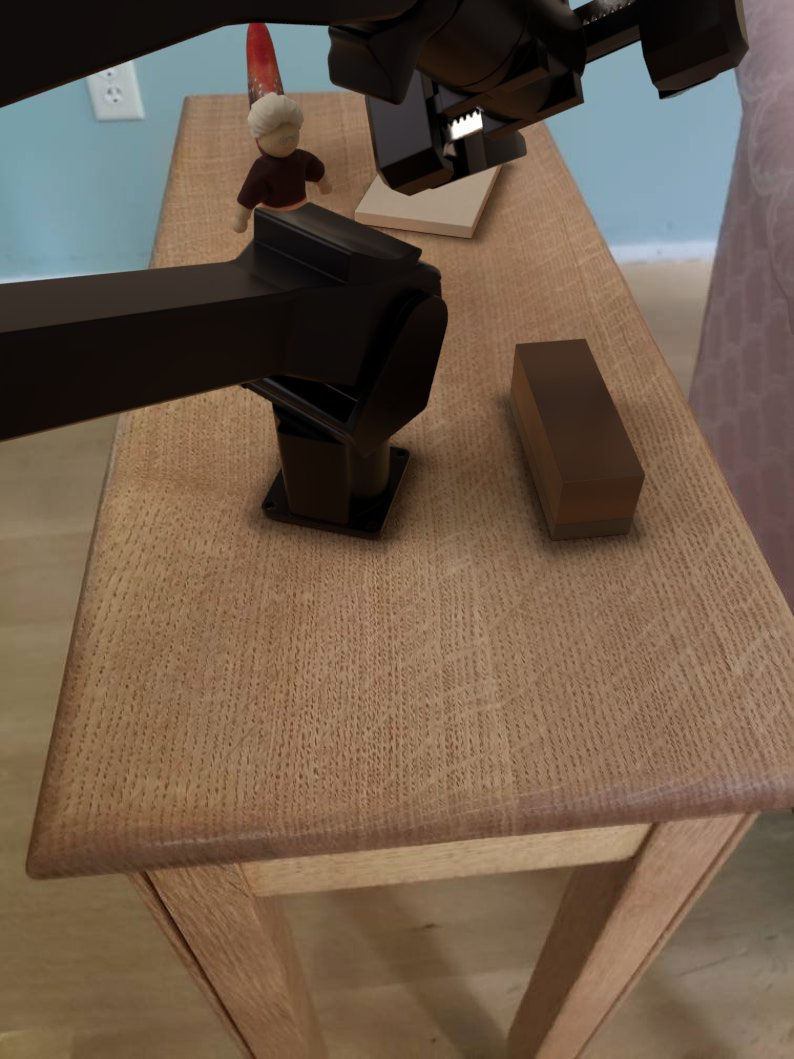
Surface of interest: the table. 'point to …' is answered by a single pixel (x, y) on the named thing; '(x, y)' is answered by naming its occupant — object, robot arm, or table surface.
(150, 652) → the table surface
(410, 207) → the tile
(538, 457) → the tall brown wooden block
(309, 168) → the grandmother figurine
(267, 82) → the red tapered piece
